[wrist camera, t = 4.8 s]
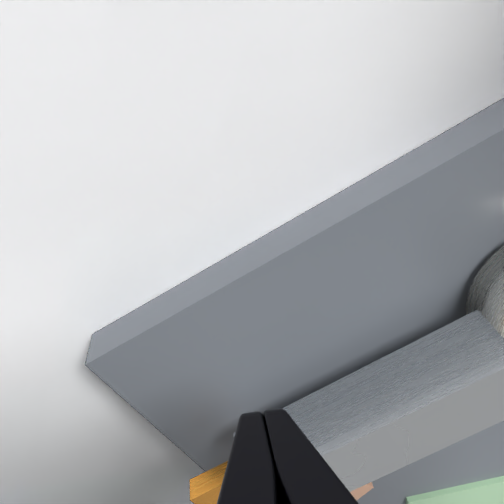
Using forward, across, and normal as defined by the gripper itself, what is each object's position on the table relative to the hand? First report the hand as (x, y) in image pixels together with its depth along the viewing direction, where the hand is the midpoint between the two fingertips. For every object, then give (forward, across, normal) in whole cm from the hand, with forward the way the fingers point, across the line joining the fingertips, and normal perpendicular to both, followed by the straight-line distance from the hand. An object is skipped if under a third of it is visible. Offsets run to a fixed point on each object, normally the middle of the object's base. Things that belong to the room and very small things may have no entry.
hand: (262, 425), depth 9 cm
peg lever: (+3, -4, +2) cm, 6 cm away
